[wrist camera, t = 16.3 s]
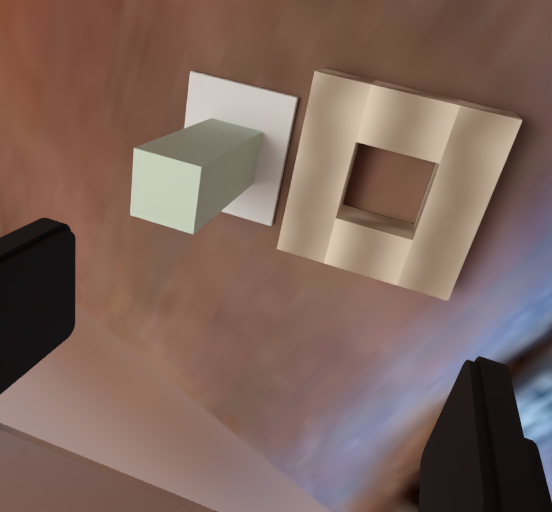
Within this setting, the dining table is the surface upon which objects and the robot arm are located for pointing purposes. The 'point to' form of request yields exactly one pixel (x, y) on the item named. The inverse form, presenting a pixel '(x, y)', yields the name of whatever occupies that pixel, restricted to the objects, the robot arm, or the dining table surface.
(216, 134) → the sage block
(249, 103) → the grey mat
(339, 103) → the square hole frame
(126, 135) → the dining table surface
